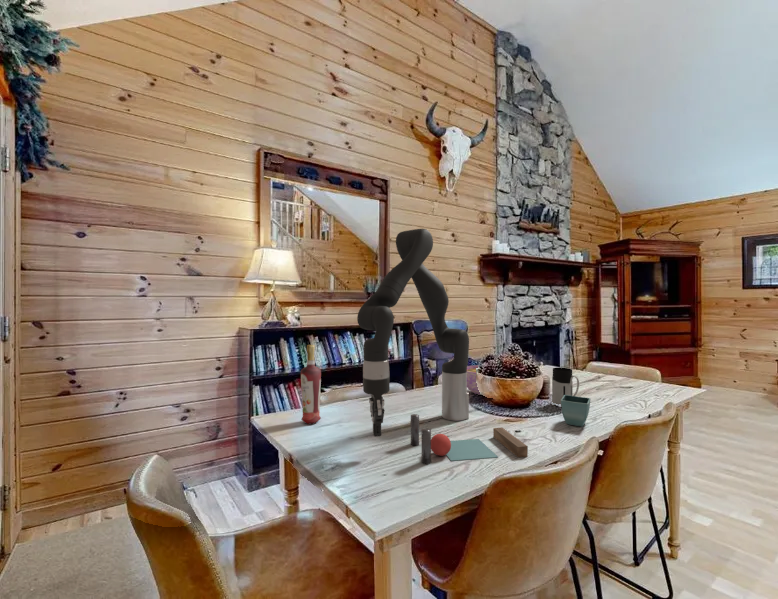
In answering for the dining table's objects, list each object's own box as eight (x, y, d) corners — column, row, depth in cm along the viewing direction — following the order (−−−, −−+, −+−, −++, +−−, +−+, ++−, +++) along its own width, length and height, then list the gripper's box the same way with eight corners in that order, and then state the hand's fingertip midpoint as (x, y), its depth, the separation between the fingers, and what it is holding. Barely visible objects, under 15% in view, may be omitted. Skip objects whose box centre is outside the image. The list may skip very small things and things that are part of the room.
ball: (440, 454, 117) (451, 437, 118) (446, 463, 111) (457, 444, 112) (423, 444, 116) (434, 427, 117) (429, 452, 110) (440, 434, 111)
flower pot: (588, 429, 135) (588, 403, 135) (560, 425, 139) (560, 400, 139) (590, 422, 142) (590, 397, 142) (564, 418, 147) (564, 394, 147)
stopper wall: (502, 436, 128) (502, 427, 128) (527, 456, 113) (527, 446, 113) (493, 437, 128) (493, 428, 128) (517, 457, 112) (517, 446, 112)
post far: (417, 442, 123) (417, 414, 123) (420, 445, 121) (420, 416, 121) (409, 443, 123) (409, 414, 123) (411, 446, 120) (411, 417, 120)
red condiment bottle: (325, 421, 144) (325, 345, 143) (308, 426, 138) (308, 347, 138) (313, 417, 149) (313, 343, 148) (296, 422, 143) (296, 345, 143)
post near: (429, 460, 110) (429, 428, 110) (432, 464, 108) (432, 431, 108) (420, 460, 110) (420, 428, 110) (422, 464, 107) (422, 431, 107)
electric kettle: (564, 401, 170) (564, 366, 170) (587, 411, 156) (588, 373, 156) (546, 402, 168) (546, 367, 168) (568, 412, 154) (568, 374, 154)
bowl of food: (453, 392, 185) (453, 368, 185) (482, 387, 196) (482, 363, 196) (486, 402, 169) (486, 375, 168) (515, 395, 180) (516, 370, 180)
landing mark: (478, 439, 126) (478, 438, 126) (498, 457, 112) (498, 456, 112) (436, 442, 124) (436, 441, 124) (451, 461, 110) (451, 460, 110)
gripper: (393, 380, 107) (394, 443, 107) (385, 370, 120) (386, 426, 120) (365, 381, 106) (366, 445, 106) (360, 371, 119) (361, 428, 119)
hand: (377, 435), depth 113 cm, fingers closed
